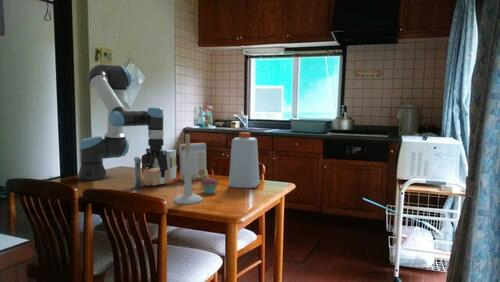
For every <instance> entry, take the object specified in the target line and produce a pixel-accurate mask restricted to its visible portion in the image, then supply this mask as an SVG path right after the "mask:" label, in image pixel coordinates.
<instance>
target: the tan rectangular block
mask: <svg viewBox="0 0 500 282" xmlns="http://www.w3.org/2000/svg"><path fill="white" fill-rule="evenodd" d="M159 170H160V168H159V167H157V168H155V167H154V168H150V169H148V168H145V169H143V181H142V185H144V186H157V185H160V184H159ZM168 183H169V184H170V180H169V169H168V170H165V177H164V183H163V185H164V184H168Z"/></svg>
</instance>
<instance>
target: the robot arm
mask: <svg viewBox="0 0 500 282" xmlns="http://www.w3.org/2000/svg"><path fill="white" fill-rule="evenodd" d="M87 80H88V81H87V82H88V84H89V86H90V88H91V89H93V90H94V91H96V93H97V95H98V97H99V98H100V100H101V102H102V103H103V105H104V106H105V108H106V110H107V130H106V131H107V132H106V133H105V134H104V138H103V136H91V137H87V138H82V139H81V140H80V142H79V151H80V153H79V155H80V167H79V170H78V175H77V179H78V180H80V181H97V180H99V181H100V180H103V179H106V178H108V177H107V171H106V169H105V166H104V161H103V160H104V159H105V160H106V159H113V158H115V159H116V158H122V157H125V156H126V155H127V154H128V152H129V150H130V149H129V148H130V143H129V139H128V138H126V134H124V131H123V130H124V127H141V126H146V127H147V134H148V135H147V137H148V139H147V145H148V146H149V147H148V148H146V149H145V153H146V154H145V163H144V164H145V165H144V166H145V168H146V169H150V168H155V166H154V161H155V157H156V159H157V161H158V164H159V168H160V170H159V184H158V185H162V184H163V183H164V177H165V170H168V166H167V158H166V150H167V149H163V147H164V110H163V108H162V107H148V108H147V110H137V111H136V110H135V111H134V110H131V111H129V110H128V111H127V109H126V108H125V106H124V105H125V103H124V102H125V92H127V90H128V87H130V86H131V84H132V82H133V81H132V73H131V72H130V69H129V68H128V67H126V66H121V65H113V64H110V65H109V64H96V65H95V66H92V68H90V70H89V72H88V75H87ZM164 184H165V183H164ZM164 184H163V185H164Z"/></svg>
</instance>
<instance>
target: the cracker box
mask: <svg viewBox="0 0 500 282" xmlns="http://www.w3.org/2000/svg"><path fill="white" fill-rule="evenodd" d="M178 146H179V180H180V181H182V182H185V159H186V154H185V151H184V149H185V143H179V145H178ZM190 149H192V150H191V154H190V165H191V181H198V182H201V181H202V180H203V179H205V178H207V174H206V169H207V143H205V142H195V143H194V142H193V143H192V142H190Z"/></svg>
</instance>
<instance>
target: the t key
mask: <svg viewBox="0 0 500 282" xmlns="http://www.w3.org/2000/svg"><path fill="white" fill-rule="evenodd" d="M133 160H134V170H135V171H134V173H135V174H134V178H135V180H134V185H135V190H141V188H142V186H141V185H142V183H141V180H142V179H141V178H142V177H141V164H142V159H141V158H140V157H138V156H135V157H134V158H133Z"/></svg>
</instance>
